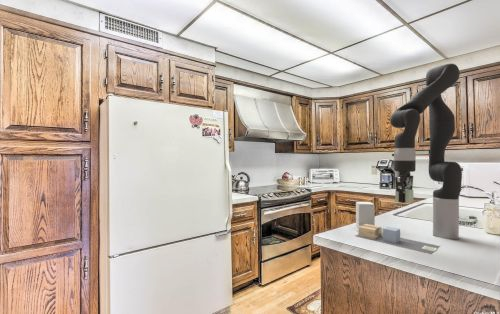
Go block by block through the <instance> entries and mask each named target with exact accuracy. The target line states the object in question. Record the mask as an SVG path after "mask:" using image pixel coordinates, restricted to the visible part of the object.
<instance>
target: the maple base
mask: <svg viewBox="0 0 500 314" xmlns="http://www.w3.org/2000/svg"><path fill="white" fill-rule="evenodd" d="M358 234H359V236H363V237H367V238H371V239H376V238H378V237H380V236H381V234H382V226H378V225H375V226H374V225H369V224H364V225H361V226H359V229H358Z"/></svg>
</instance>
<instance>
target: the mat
mask: <svg viewBox="0 0 500 314" xmlns="http://www.w3.org/2000/svg"><path fill="white" fill-rule="evenodd" d="M354 237H356V238H362V239H365V240H369V241H374V242H378V243H382V244H386V245H391V246H393V247H398V248H404V249H408V250H412V251H415V252H419V253H424V254H428V255H432V254H433V253H434V252H437V250H438V249H439V248H440V247H441V245H436V244H432V243H427V242H423V241H417V240H414V239H413V240H412V239H408V238H404V237H400V241H399V242H397V243H392V242H387V241H383V233H381V236H380V237H378V238H376V239H371V238H367V237H363V236H359V233H358V234H356V235H354ZM424 246H428V247H433V248H437V250H435V251H434V252H433V251H428V250H424V249H422V247H424Z"/></svg>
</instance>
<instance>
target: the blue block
mask: <svg viewBox="0 0 500 314" xmlns="http://www.w3.org/2000/svg"><path fill="white" fill-rule="evenodd" d="M382 234H383V241H387V242H392V243H397V242H399V241H400V238H401V228H399V227H393V226H389V225H388V226H385V227H384V228H382Z"/></svg>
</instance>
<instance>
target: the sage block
mask: <svg viewBox="0 0 500 314" xmlns="http://www.w3.org/2000/svg"><path fill="white" fill-rule="evenodd" d="M394 191H395V194H394V195H395V196H394V197H395V199H394V201H395V203H401V202H399V193H398V192H397V191H396V189H395V190H394ZM412 203H414V189H412V190H411V189H406V192H405V203H404V204H412ZM401 204H402V203H401Z"/></svg>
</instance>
